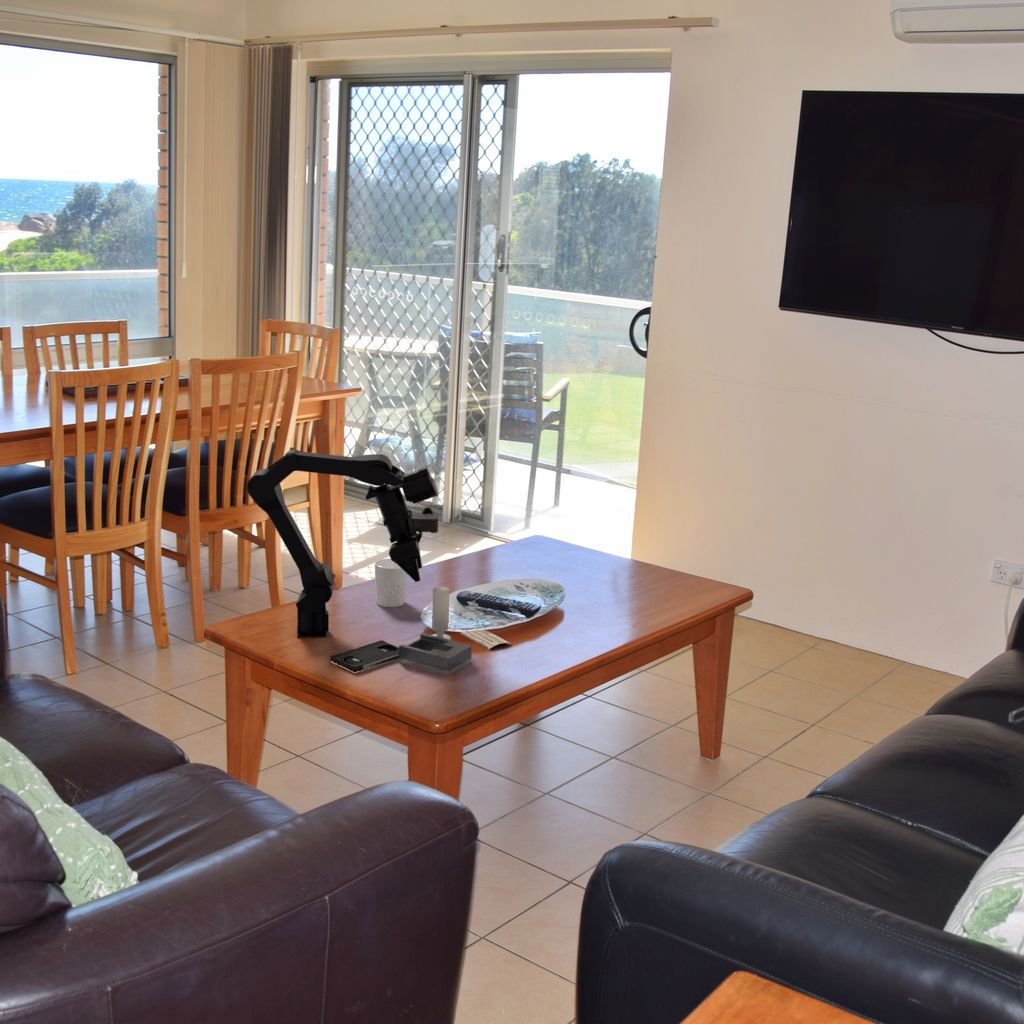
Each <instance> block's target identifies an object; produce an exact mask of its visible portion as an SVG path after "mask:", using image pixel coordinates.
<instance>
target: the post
mask: <svg viewBox="0 0 1024 1024" xmlns="http://www.w3.org/2000/svg"><path fill="white" fill-rule="evenodd" d="M449 611H450V588H448V587H445V586H436V587H434V588H432V611H431V612H432V613H431V614H432V615H431V616H432V618H431V619H432V620H431V621H432V622H431V629H432V631H433V632H434V631H435V632H436V633H434V634H431V635H432V636H436V637H440V638H444V639H448V640H451V641H452V637H451V636H450V635H448V634H446V633H445V632H447V631H449V628H448V623H449Z"/></svg>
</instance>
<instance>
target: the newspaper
mask: <svg viewBox="0 0 1024 1024" xmlns="http://www.w3.org/2000/svg"><path fill="white" fill-rule="evenodd" d="M459 634H460V635H461V636H463V637H465V638H466V639H468V640H470V641H471V642H474V643H476V644H477V645H479V646H481V647H482V648H484V649H486V650H487V651H490V650H491V649H492V648H494V647H495V646H498V645H500V644H504V645H507V646H512V643H511V642H509V641H507V640H505V639H504V638H502V637H499V636H498V635H496V634H494V633H492V632H490V631H489V630H487V631H486V629H485V630H474V631H466V632H461V633H458V635H459Z"/></svg>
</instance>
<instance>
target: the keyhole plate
mask: <svg viewBox="0 0 1024 1024" xmlns="http://www.w3.org/2000/svg"><path fill="white" fill-rule="evenodd" d="M432 635H433V634H428V633H421V634H420V638H418V639H416V640H415V641H412V642H410V643H408V644H403V643H401V644H399V646H398V647H399V659H398V663H400V664H404V665H407V666H410V667H415V668H417V669H421V670H424V671H425V670H426V671H429V672H432V673H435V674H440V675H443V676H448V677H449V676H450V675H452V674H454V673H456V672H458V670H461V669H462V668H464V667H466V666H468V665H470V664H471V663H472V649H473V647H472V645H470V644H466V643H462V642H458V641H455V640H452V639H451V640H448V639H444V638H440V637H436V636H432Z"/></svg>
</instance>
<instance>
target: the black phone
mask: <svg viewBox="0 0 1024 1024" xmlns="http://www.w3.org/2000/svg"><path fill="white" fill-rule="evenodd" d="M346 657H347V658H346ZM344 658H345V660H343V659H344ZM397 660H399V646H397V645H393V644H391V643H389V642H387V641H385V640H377V641H375V642H372V643H368V644H366V645H365V644H364V645H363V646H359V647H357V648H352V649H350V650H345V651H343V652H340V653H336V654H334V655H330V661H333V662H334V663H337V664H338V665H341V666H343V667H345V668H347V669H349V670H351V671H353V672H357V671H361V670H365V669H368V670H370V669H369V668H371V669H374V668H376V667H379V666H383V665H385V663H386V664H388V662H389V663H391V662H394V661H397ZM382 664H383V665H382ZM373 667H374V668H373ZM365 671H366V670H365Z"/></svg>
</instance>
